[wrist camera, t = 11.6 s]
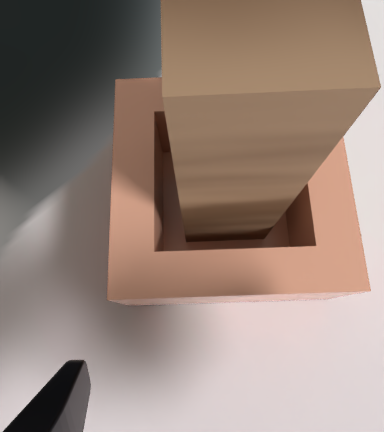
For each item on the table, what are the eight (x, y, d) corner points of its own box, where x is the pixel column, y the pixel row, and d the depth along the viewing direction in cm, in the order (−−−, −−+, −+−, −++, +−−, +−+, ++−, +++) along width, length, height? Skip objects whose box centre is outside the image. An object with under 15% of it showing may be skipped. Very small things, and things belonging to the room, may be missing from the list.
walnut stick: (264, 238, 18) (380, 87, 6) (186, 242, 18) (162, 97, 6) (256, 167, 19) (344, -70, 8) (183, 170, 19) (160, -61, 8)
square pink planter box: (328, 299, 17) (393, 287, 12) (129, 305, 18) (94, 297, 12) (303, 123, 20) (345, 44, 15) (132, 130, 21) (106, 53, 15)
